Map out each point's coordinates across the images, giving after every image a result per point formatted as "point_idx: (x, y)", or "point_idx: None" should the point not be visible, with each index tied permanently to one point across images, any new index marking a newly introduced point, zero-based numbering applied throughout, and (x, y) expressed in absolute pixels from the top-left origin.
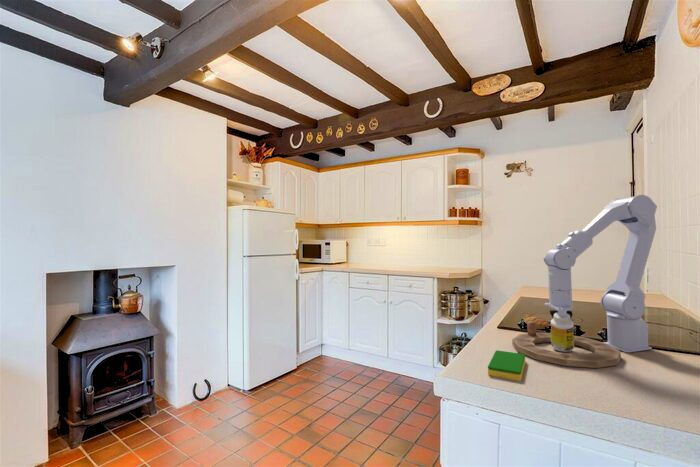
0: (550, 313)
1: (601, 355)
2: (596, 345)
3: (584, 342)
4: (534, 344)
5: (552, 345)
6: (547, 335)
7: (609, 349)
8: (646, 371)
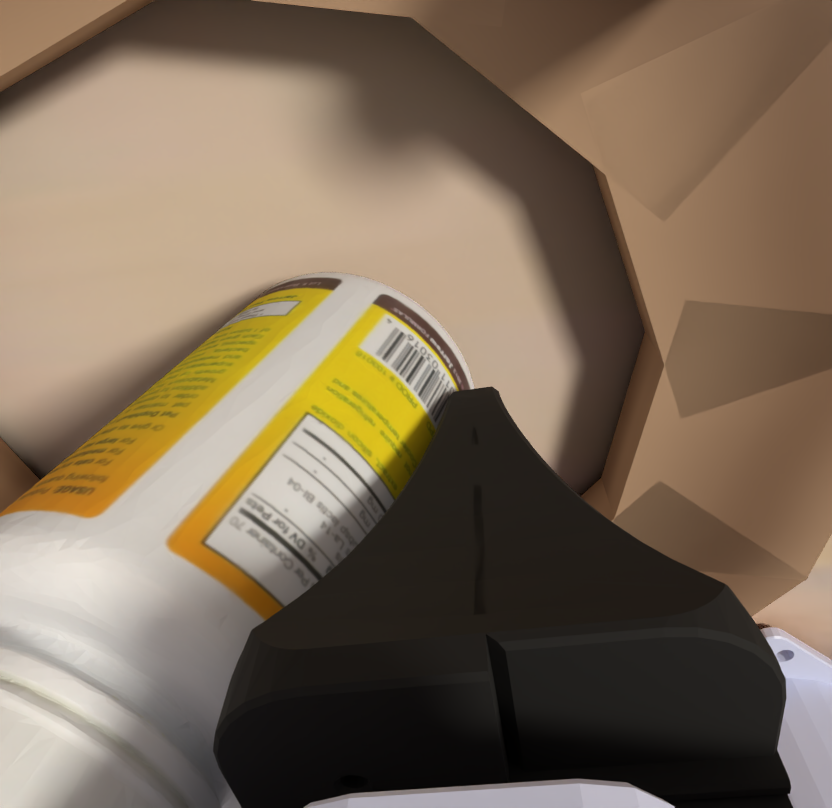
0: (254, 657)
1: None
2: None
3: None
4: (1, 75)
5: (261, 294)
6: (733, 175)
7: None
8: None
